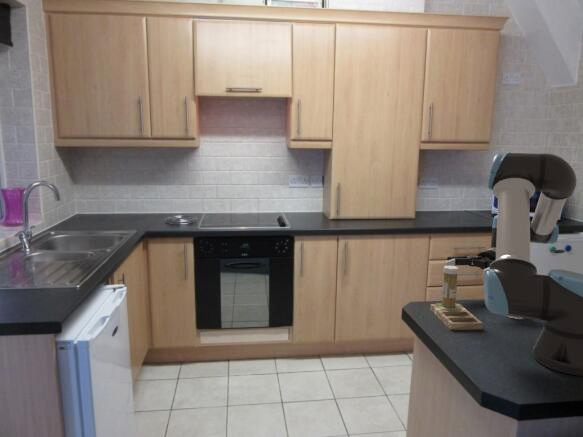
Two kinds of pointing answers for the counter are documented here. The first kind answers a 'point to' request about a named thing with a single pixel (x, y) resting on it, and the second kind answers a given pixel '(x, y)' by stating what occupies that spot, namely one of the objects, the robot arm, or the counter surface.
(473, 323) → the slotted wooden board
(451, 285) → the sprinkles bottle
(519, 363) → the counter surface
